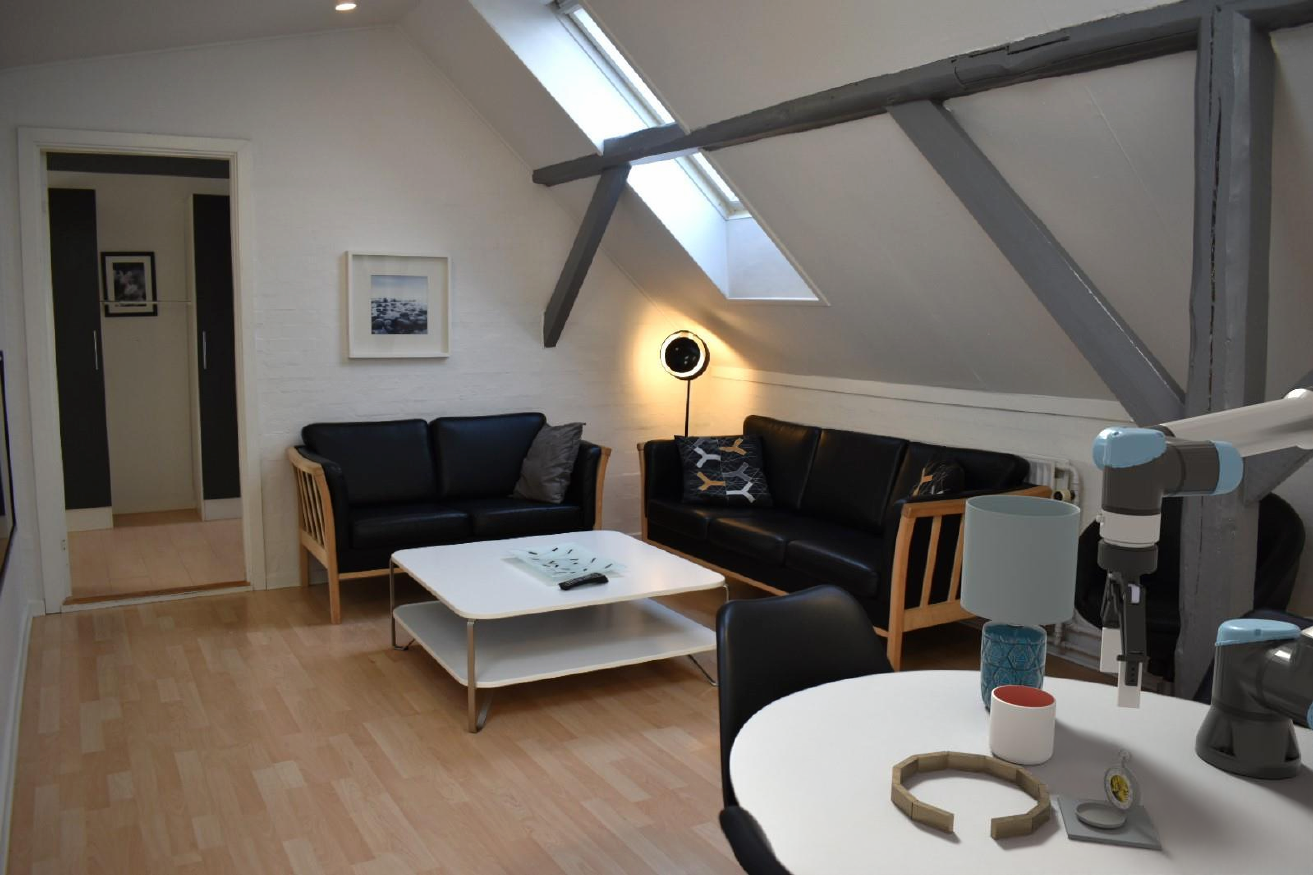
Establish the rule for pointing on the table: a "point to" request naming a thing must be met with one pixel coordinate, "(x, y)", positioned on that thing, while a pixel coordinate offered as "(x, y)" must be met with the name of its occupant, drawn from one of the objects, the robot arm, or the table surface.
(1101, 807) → the pocket watch
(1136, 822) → the coaster
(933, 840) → the table surface
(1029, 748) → the cup
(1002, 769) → the c ring
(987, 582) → the lamp
